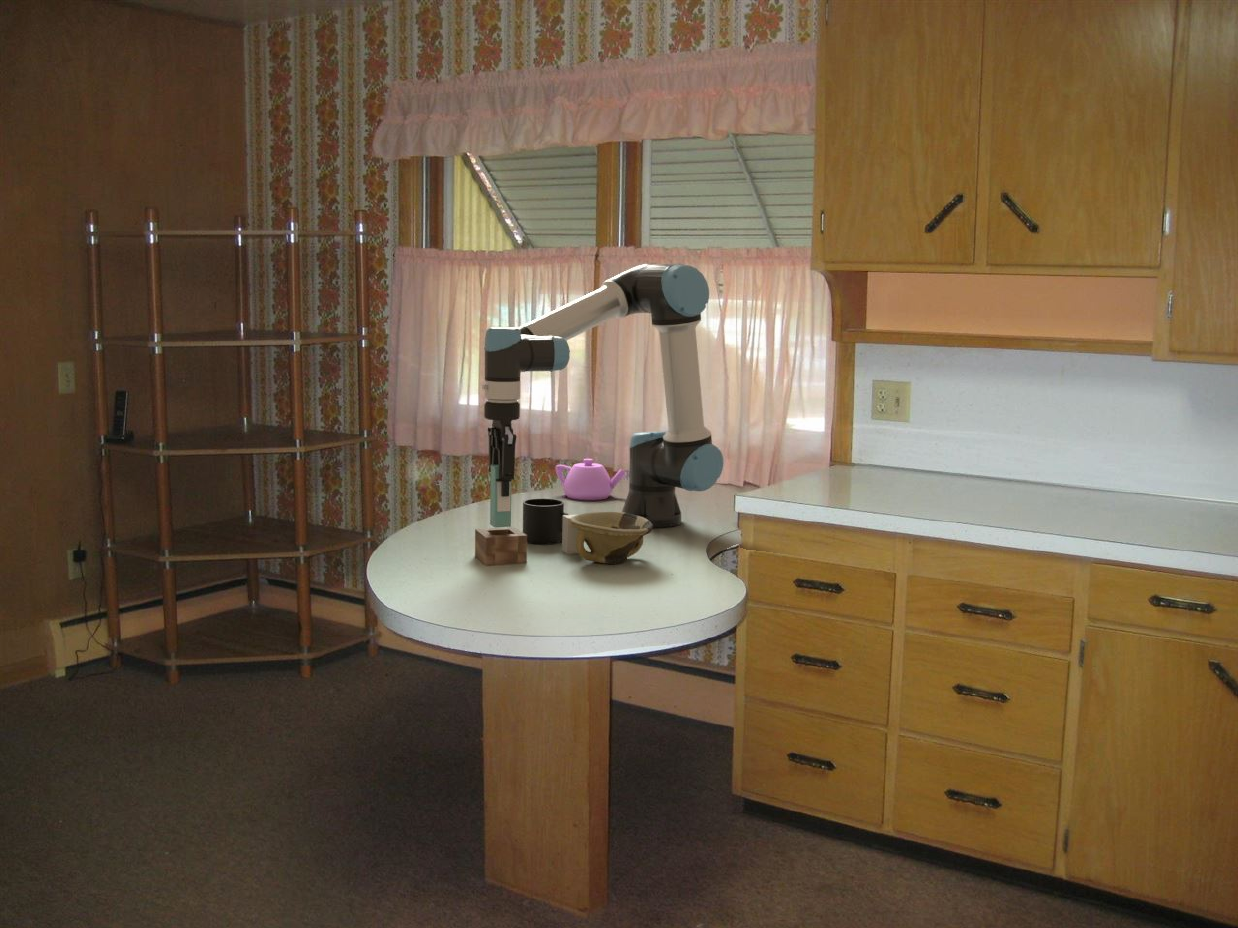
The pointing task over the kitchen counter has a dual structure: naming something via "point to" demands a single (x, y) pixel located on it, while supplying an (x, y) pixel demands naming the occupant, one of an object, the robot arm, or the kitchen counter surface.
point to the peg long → (496, 517)
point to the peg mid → (569, 535)
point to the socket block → (500, 546)
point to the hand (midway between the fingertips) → (500, 508)
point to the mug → (543, 520)
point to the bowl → (609, 535)
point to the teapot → (588, 480)
